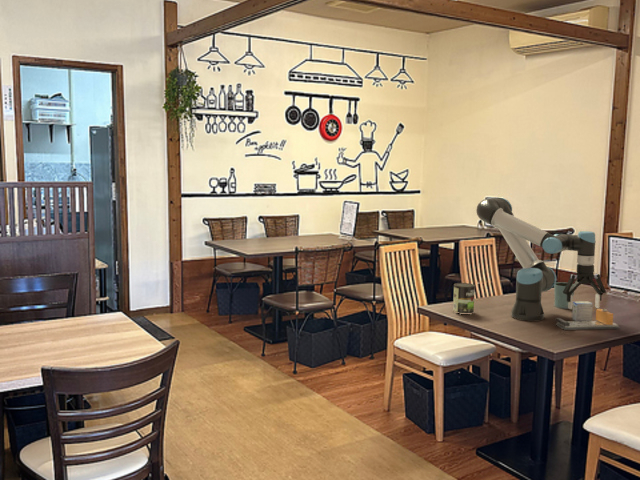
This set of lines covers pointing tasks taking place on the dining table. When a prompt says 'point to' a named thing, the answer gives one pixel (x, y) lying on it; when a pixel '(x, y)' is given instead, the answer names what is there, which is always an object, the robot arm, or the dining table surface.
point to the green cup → (561, 295)
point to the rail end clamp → (604, 316)
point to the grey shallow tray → (583, 325)
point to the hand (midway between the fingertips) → (583, 308)
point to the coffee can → (464, 297)
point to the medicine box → (582, 311)
